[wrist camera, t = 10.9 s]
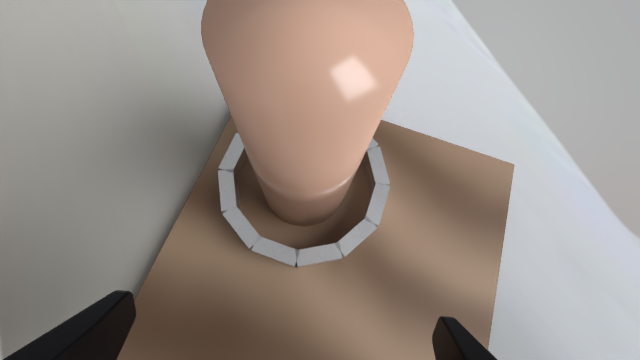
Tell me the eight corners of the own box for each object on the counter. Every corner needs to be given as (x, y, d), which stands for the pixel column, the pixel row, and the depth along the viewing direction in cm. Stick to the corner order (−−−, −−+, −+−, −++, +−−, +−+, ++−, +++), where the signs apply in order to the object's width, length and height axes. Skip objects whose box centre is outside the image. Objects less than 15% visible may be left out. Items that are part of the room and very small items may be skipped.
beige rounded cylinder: (355, 212, 18) (448, 85, 7) (275, 236, 17) (226, 141, 6) (330, 141, 19) (370, -64, 8) (255, 161, 19) (183, -34, 7)
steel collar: (354, 290, 17) (360, 290, 15) (197, 231, 17) (188, 226, 16) (397, 145, 20) (405, 134, 18) (263, 99, 20) (260, 85, 19)
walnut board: (455, 504, 14) (464, 516, 14) (109, 363, 15) (99, 367, 15) (506, 169, 20) (514, 164, 20) (253, 83, 21) (251, 76, 21)
